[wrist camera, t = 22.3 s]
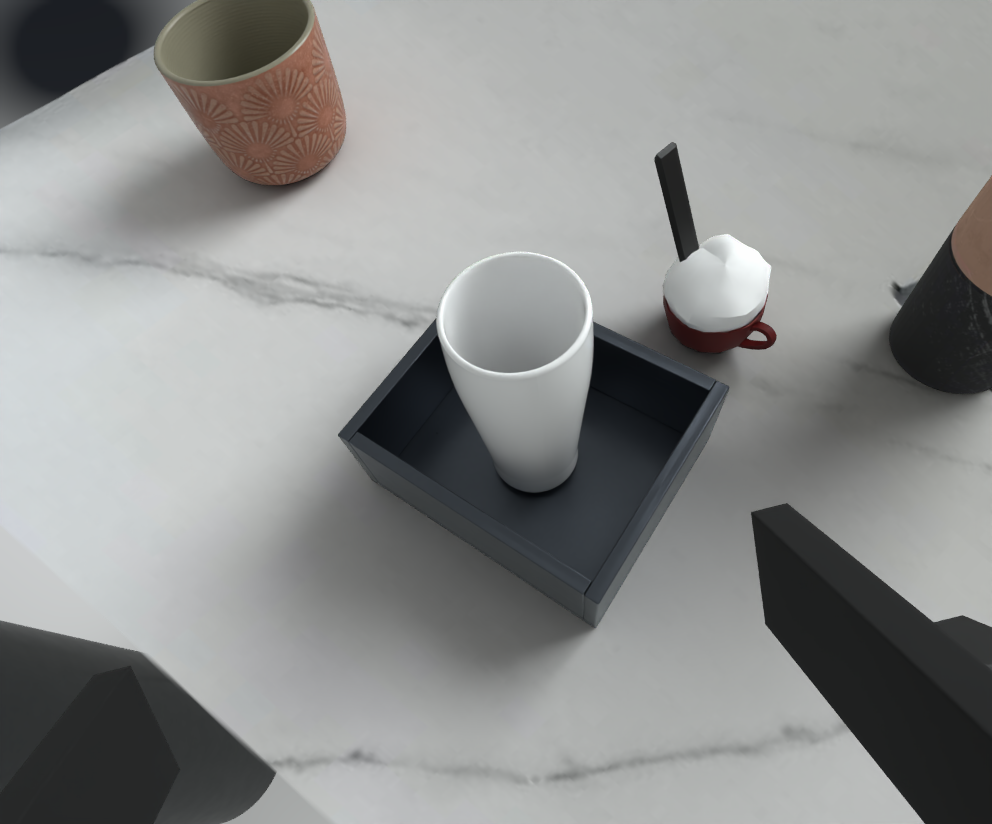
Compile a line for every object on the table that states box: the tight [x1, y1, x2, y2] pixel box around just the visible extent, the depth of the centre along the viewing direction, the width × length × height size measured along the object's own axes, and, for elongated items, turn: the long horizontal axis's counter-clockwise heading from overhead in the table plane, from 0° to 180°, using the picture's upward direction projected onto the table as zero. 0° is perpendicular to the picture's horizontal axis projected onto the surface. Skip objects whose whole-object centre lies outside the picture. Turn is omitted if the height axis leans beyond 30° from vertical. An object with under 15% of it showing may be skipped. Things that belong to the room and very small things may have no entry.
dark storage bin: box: [338, 319, 729, 628], centre depth 38 cm, size 17×14×7 cm
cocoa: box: [655, 142, 776, 353], centre depth 39 cm, size 10×6×12 cm, turn 19°
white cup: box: [436, 252, 594, 493], centre depth 33 cm, size 7×7×15 cm
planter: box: [154, 0, 346, 185], centre depth 52 cm, size 12×12×11 cm
